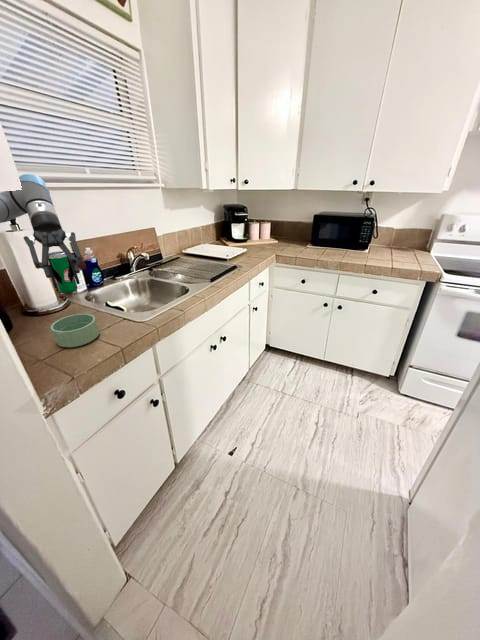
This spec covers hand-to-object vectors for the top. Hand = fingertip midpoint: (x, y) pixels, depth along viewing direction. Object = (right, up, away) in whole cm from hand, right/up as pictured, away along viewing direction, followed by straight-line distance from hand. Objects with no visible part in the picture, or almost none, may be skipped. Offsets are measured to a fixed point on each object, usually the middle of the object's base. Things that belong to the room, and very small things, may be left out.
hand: (67, 283), depth 78 cm
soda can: (-2, -2, +4) cm, 5 cm away
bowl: (-1, -17, +7) cm, 18 cm away
